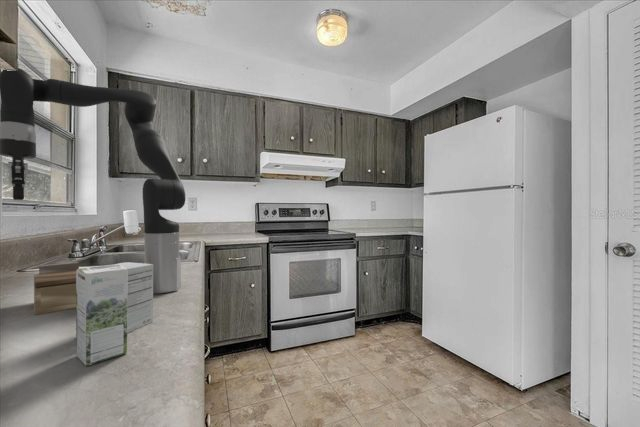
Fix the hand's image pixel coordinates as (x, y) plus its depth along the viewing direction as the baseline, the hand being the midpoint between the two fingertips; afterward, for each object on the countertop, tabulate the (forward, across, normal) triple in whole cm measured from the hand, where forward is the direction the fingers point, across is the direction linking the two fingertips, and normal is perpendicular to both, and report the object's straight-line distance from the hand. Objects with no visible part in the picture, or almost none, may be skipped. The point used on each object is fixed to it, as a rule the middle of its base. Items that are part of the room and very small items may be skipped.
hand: (18, 199), depth 87 cm
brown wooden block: (+21, +23, +8) cm, 32 cm away
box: (+27, +24, +8) cm, 37 cm away
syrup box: (+27, +64, +10) cm, 70 cm away
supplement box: (+27, +52, +16) cm, 61 cm away
